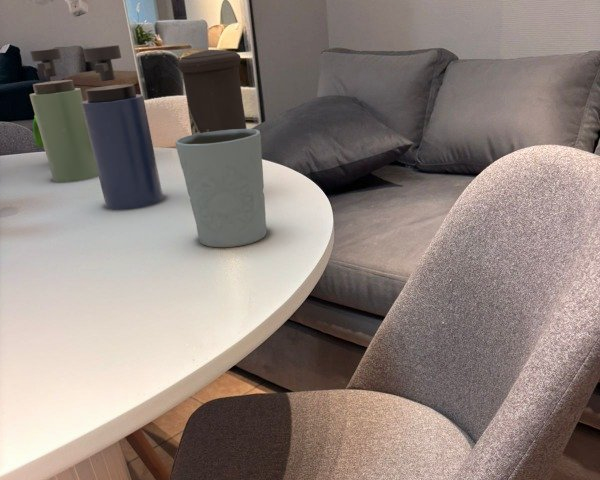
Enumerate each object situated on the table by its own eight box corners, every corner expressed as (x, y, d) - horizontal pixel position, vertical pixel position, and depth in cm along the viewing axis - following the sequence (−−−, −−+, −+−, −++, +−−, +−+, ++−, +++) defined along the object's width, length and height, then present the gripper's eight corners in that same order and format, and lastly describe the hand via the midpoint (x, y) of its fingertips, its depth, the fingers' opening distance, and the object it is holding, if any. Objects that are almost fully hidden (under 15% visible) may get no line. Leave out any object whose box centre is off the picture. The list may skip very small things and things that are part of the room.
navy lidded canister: (110, 198, 105) (84, 88, 96) (164, 192, 105) (143, 81, 97) (101, 212, 97) (72, 93, 89) (161, 205, 98) (137, 86, 89)
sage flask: (58, 174, 127) (33, 82, 119) (104, 169, 128) (82, 77, 119) (48, 184, 120) (21, 87, 111) (97, 178, 120) (73, 81, 111)
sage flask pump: (40, 76, 117) (33, 50, 114) (68, 73, 117) (61, 47, 115) (29, 80, 110) (22, 52, 108) (59, 77, 110) (52, 49, 108)
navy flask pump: (93, 80, 94) (86, 48, 92) (127, 76, 95) (120, 44, 92) (84, 85, 88) (75, 50, 85) (120, 81, 88) (113, 46, 86)
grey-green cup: (229, 254, 75) (212, 146, 68) (176, 241, 81) (156, 141, 75) (288, 230, 81) (278, 129, 74) (234, 220, 87) (221, 126, 81)
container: (194, 195, 102) (169, 53, 91) (246, 185, 104) (229, 46, 94) (209, 206, 95) (184, 54, 84) (265, 195, 97) (248, 46, 87)
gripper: (8, -56, 116) (23, 25, 117) (98, -99, 108) (112, -12, 110) (34, -40, 121) (48, 36, 123) (121, -80, 113) (135, 3, 115)
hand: (79, 13), depth 116 cm, fingers closed
